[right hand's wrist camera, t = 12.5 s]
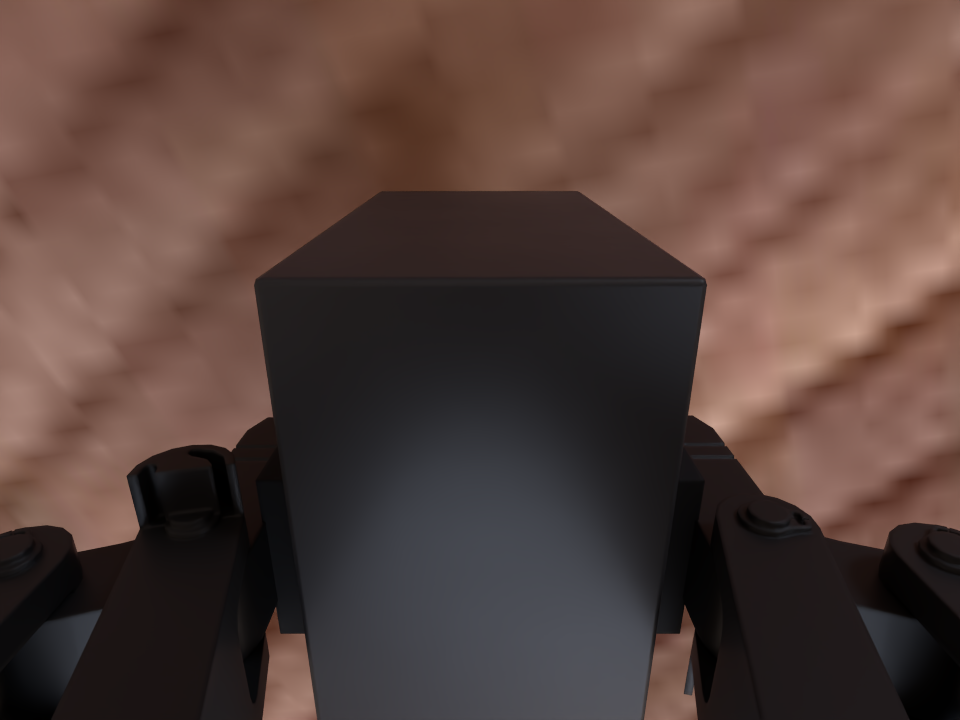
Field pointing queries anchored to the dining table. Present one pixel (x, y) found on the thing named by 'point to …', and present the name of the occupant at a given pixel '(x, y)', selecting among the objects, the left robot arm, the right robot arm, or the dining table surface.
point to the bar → (480, 452)
